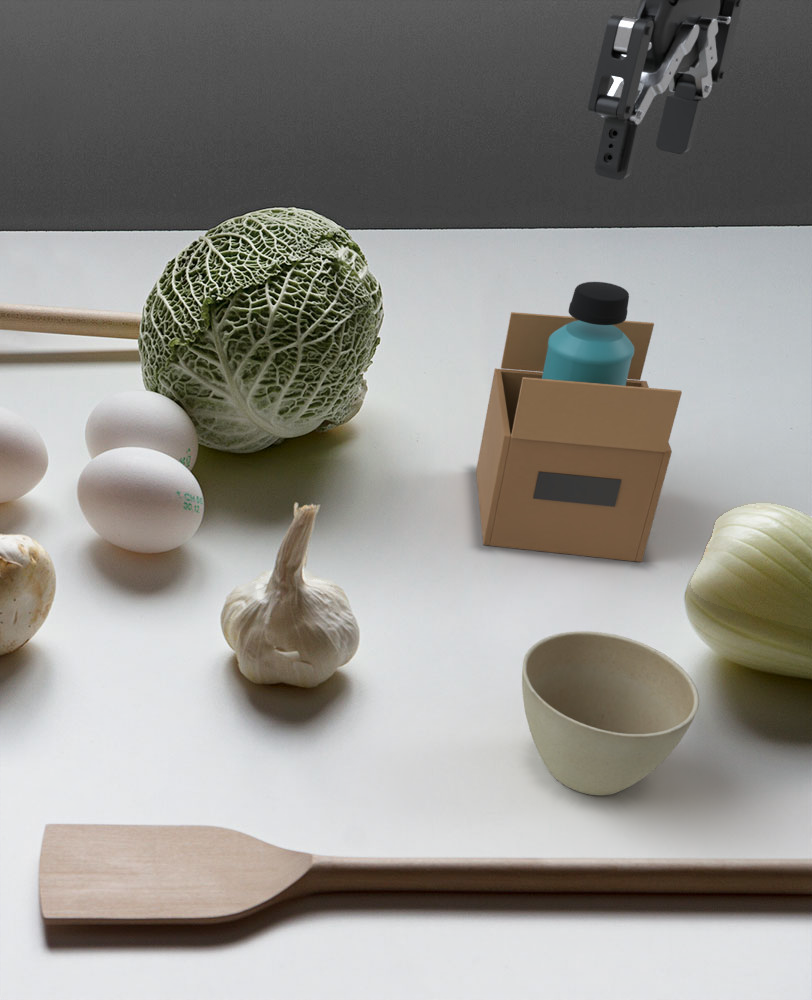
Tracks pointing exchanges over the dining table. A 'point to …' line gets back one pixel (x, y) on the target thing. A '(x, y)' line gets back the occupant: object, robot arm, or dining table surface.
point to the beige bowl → (604, 708)
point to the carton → (572, 451)
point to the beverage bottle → (592, 338)
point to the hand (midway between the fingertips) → (642, 163)
